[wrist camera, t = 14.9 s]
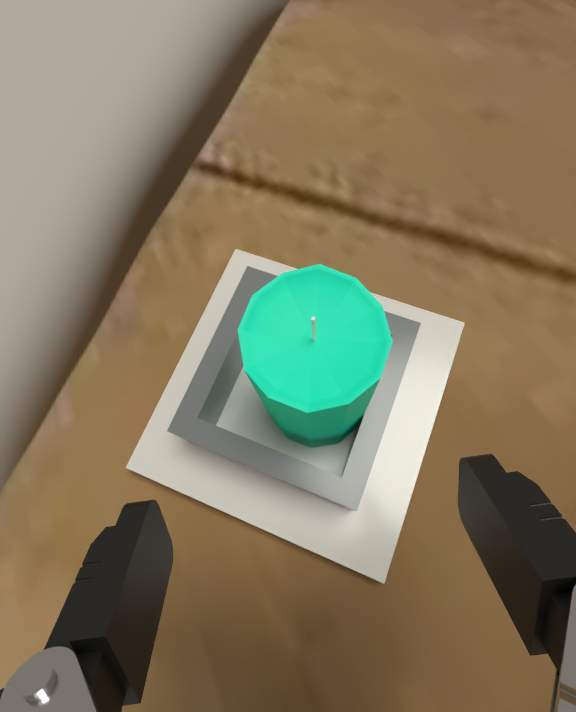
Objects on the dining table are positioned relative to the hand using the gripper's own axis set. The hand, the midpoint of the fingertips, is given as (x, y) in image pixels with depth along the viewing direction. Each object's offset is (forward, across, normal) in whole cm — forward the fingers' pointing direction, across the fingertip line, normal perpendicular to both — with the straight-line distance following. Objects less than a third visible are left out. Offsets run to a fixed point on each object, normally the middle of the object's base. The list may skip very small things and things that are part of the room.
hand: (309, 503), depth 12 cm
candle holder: (+15, 0, +6) cm, 16 cm away
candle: (+14, -1, +6) cm, 15 cm away
